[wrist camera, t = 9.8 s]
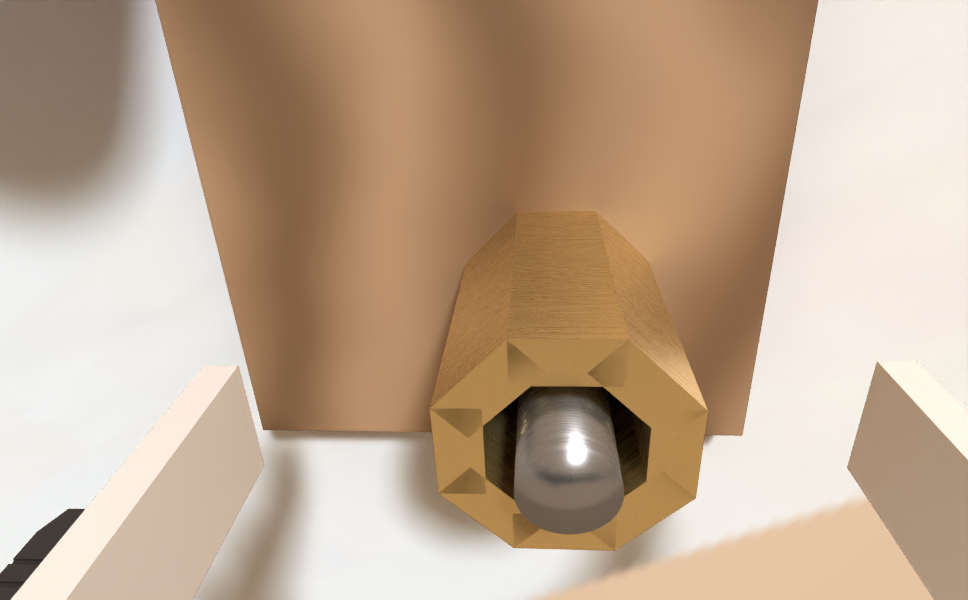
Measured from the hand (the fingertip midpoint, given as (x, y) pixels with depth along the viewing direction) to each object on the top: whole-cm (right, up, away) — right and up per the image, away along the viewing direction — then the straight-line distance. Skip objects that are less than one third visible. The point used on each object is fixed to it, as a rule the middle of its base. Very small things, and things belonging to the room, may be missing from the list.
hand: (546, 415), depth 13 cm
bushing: (+1, +3, +5) cm, 6 cm away
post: (+1, +3, +5) cm, 6 cm away
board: (-1, +5, +6) cm, 8 cm away
